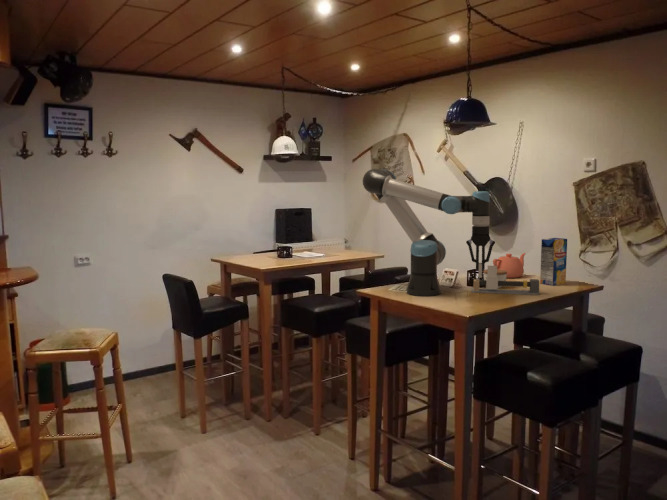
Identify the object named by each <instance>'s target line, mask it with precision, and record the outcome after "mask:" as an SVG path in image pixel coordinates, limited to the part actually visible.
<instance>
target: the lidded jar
mask: <svg viewBox="0 0 667 500" xmlns="http://www.w3.org/2000/svg"><path fill="white" fill-rule="evenodd" d="M487 271H488V268H487V269H484V270H483V280H486V277H487ZM506 277H507V271H506V270H500V269H497V278H498V281H507V278H506ZM500 288H502V286H498V289H500Z"/></svg>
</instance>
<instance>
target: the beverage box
mask: <svg viewBox="0 0 667 500" xmlns="http://www.w3.org/2000/svg"><path fill="white" fill-rule="evenodd" d="M540 247H541V248H540V249H541V250H540V254H541V255H540V277H539V278H540V279H539V285H544V286H545V285H546V286H552V287H554V286H559V284H560V285H564V284H563V283H565V284H566V282H567V260H568V259H567V257H568V256H567V254H568V238H565V237H564V238H563V237H562V238H561V237H560V238H559V237H549V238H541V245H540Z"/></svg>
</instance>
